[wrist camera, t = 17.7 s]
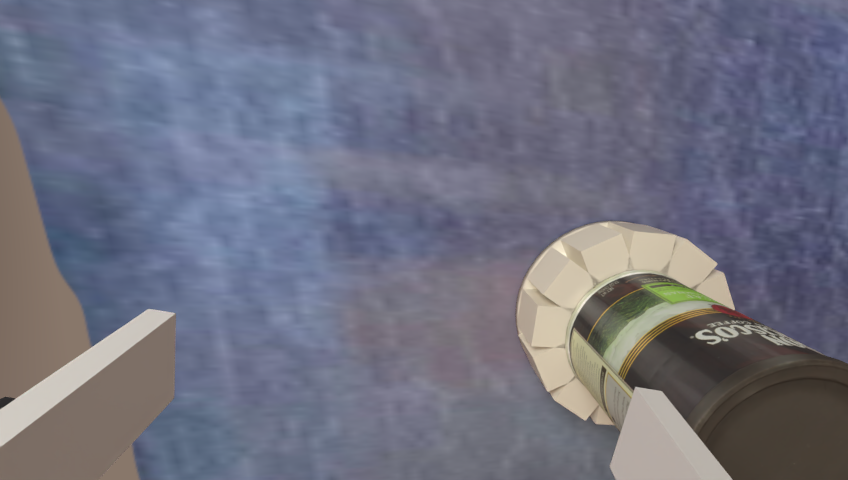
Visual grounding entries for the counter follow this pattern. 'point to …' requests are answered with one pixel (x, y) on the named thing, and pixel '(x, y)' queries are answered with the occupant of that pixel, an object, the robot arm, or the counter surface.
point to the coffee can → (713, 376)
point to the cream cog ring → (581, 271)
